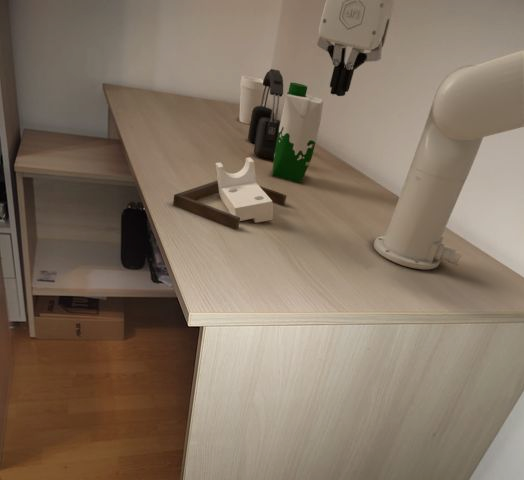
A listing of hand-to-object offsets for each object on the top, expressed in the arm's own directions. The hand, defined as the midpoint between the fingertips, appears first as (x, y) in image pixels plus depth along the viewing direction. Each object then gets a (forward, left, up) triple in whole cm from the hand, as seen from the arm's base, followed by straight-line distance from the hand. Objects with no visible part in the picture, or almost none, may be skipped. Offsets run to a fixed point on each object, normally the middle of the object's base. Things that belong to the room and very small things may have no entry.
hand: (337, 94), depth 83 cm
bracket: (+12, +5, -23) cm, 27 cm away
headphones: (+32, -43, -23) cm, 58 cm away
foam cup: (+52, -72, -23) cm, 92 cm away
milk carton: (+16, -27, -23) cm, 39 cm away
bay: (+14, +4, -23) cm, 28 cm away
